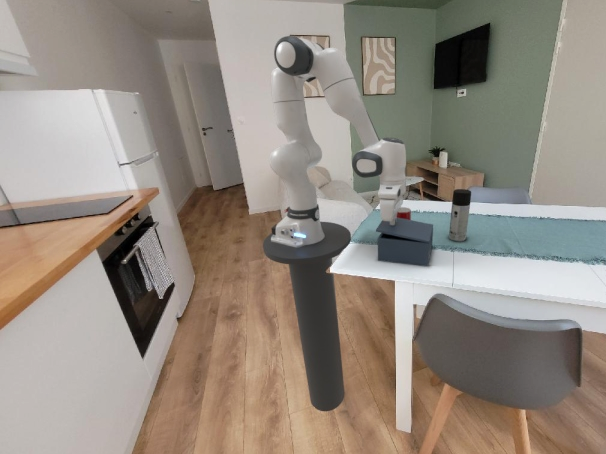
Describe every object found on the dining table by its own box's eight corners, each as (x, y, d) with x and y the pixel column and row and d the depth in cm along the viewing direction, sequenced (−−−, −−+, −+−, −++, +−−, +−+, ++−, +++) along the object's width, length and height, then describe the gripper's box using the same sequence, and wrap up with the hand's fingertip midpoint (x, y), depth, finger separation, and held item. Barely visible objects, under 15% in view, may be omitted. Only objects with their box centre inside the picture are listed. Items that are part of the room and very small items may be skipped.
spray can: (450, 234, 122) (454, 188, 115) (467, 236, 120) (472, 189, 112) (447, 240, 117) (451, 192, 109) (465, 243, 114) (470, 194, 106)
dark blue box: (378, 260, 104) (377, 238, 101) (387, 243, 117) (387, 222, 114) (427, 266, 99) (429, 243, 96) (431, 247, 112) (433, 226, 108)
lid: (375, 231, 100) (375, 229, 100) (385, 216, 113) (385, 215, 113) (428, 243, 96) (429, 241, 95) (433, 226, 108) (433, 224, 108)
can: (393, 239, 120) (393, 211, 115) (396, 233, 125) (396, 206, 120) (408, 241, 118) (409, 212, 113) (411, 235, 123) (412, 207, 118)
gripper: (390, 179, 110) (390, 213, 115) (376, 194, 92) (377, 234, 97) (407, 179, 108) (406, 214, 113) (395, 195, 90) (396, 236, 95)
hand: (393, 223), depth 105 cm, fingers closed, pressing on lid
